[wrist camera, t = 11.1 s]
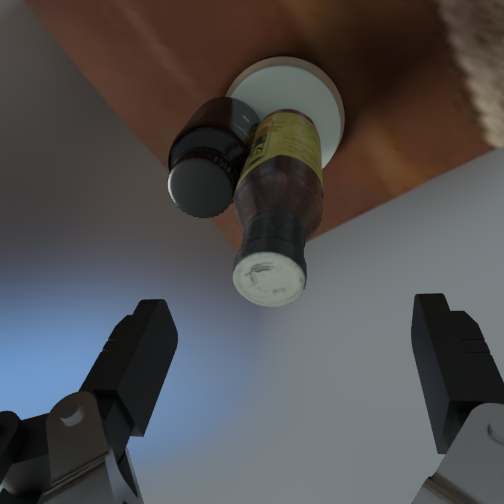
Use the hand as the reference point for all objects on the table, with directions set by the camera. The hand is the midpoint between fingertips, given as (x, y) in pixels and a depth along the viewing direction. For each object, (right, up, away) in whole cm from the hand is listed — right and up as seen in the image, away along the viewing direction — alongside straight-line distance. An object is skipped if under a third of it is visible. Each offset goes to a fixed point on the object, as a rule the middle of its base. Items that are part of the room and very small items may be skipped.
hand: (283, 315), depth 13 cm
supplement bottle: (-3, +13, +25) cm, 28 cm away
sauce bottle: (+2, +12, +24) cm, 27 cm away
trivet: (+2, +15, +26) cm, 30 cm away
